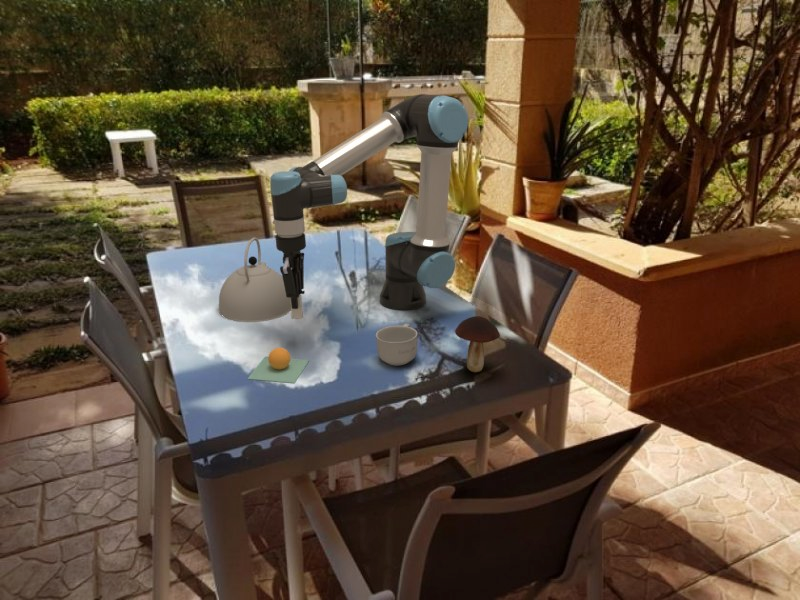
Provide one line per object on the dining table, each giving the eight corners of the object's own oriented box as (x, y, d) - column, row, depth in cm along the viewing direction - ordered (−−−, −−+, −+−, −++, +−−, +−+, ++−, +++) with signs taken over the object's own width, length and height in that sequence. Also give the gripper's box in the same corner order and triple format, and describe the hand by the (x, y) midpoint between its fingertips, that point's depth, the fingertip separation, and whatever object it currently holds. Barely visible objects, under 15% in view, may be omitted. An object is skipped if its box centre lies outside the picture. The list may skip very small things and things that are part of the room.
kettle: (232, 292, 200) (226, 227, 192) (299, 293, 200) (295, 228, 192) (210, 322, 177) (201, 249, 169) (285, 323, 177) (281, 251, 169)
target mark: (309, 360, 154) (309, 360, 154) (294, 383, 143) (294, 382, 143) (265, 357, 156) (265, 356, 156) (247, 379, 145) (247, 378, 145)
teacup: (403, 374, 149) (403, 345, 146) (367, 362, 154) (367, 335, 151) (430, 353, 160) (431, 326, 157) (396, 343, 165) (396, 317, 162)
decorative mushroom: (474, 357, 158) (478, 305, 152) (505, 373, 150) (510, 319, 144) (444, 369, 151) (446, 315, 146) (474, 386, 143) (478, 330, 138)
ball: (291, 371, 151) (294, 350, 152) (285, 368, 146) (288, 346, 147) (270, 370, 152) (273, 348, 153) (264, 367, 147) (266, 345, 148)
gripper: (284, 226, 157) (291, 307, 166) (266, 240, 146) (276, 327, 155) (311, 227, 156) (317, 309, 165) (296, 241, 144) (303, 328, 153)
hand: (297, 317), depth 160 cm, fingers closed
